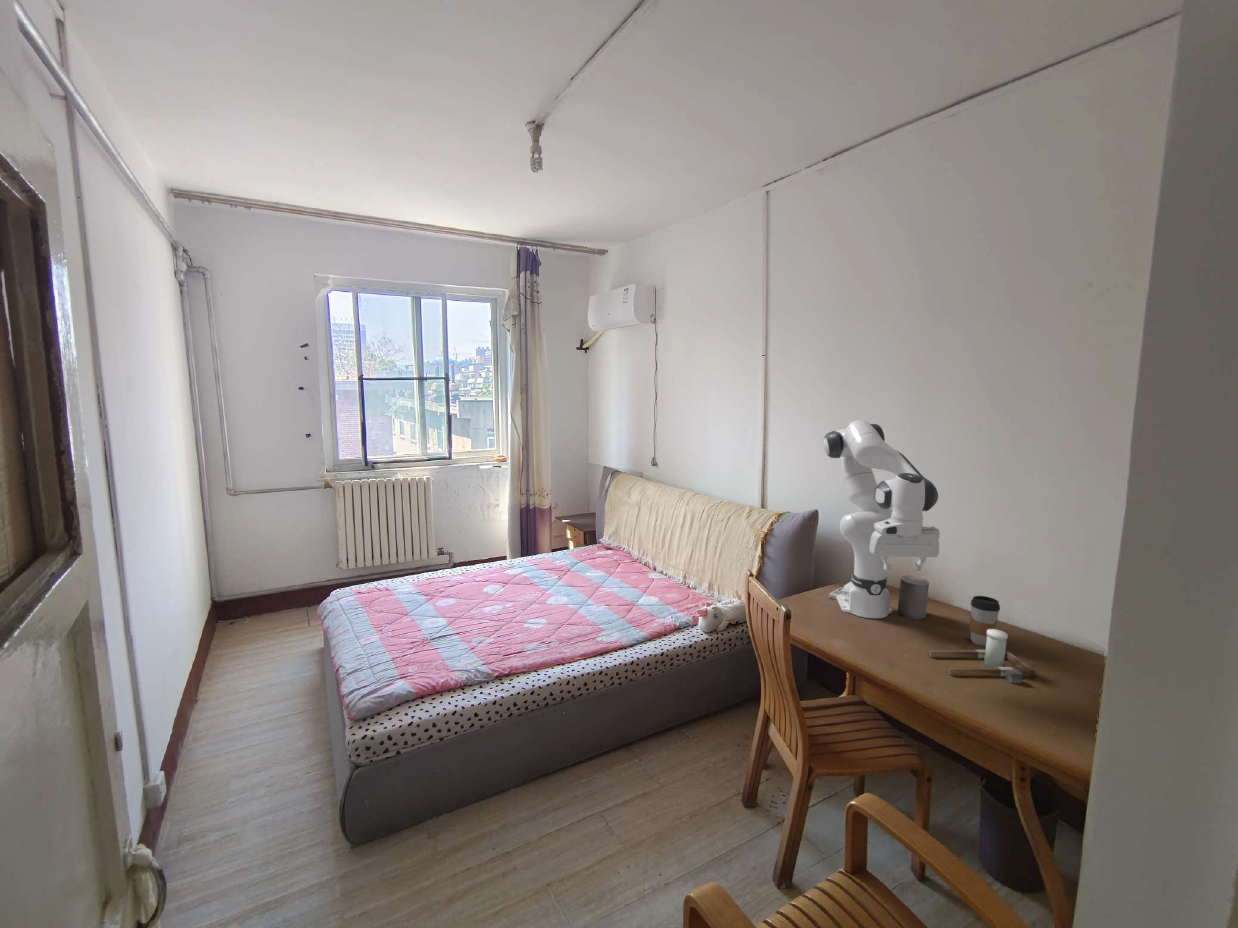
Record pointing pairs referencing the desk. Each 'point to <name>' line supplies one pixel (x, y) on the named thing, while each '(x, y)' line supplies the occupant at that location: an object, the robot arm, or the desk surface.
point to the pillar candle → (913, 596)
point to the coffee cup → (983, 618)
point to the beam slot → (1011, 673)
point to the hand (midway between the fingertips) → (902, 569)
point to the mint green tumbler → (995, 648)
